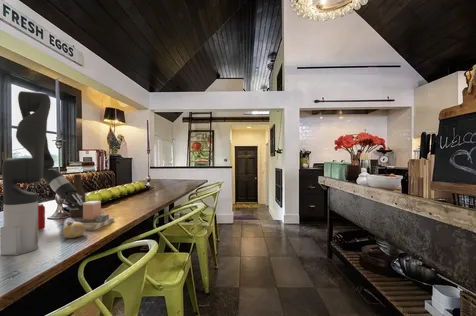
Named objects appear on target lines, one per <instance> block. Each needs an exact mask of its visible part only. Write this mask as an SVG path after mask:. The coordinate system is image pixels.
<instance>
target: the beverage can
mask: <svg viewBox="0 0 476 316" xmlns="http://www.w3.org/2000/svg"><path fill="white" fill-rule="evenodd" d="M45 228H46V207H45V205H44V203H38V233H39V232H42V231H43V230H44V229H45Z"/></svg>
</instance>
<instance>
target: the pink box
mask: <svg viewBox="0 0 476 316" xmlns="http://www.w3.org/2000/svg"><path fill="white" fill-rule="evenodd" d="M101 203H102V202H101V200H89V201H86V202H85V203H83V216H82V219H86V220H95V221H96V218H97V217H99V216H102V213H101V211H102V204H101Z"/></svg>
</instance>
